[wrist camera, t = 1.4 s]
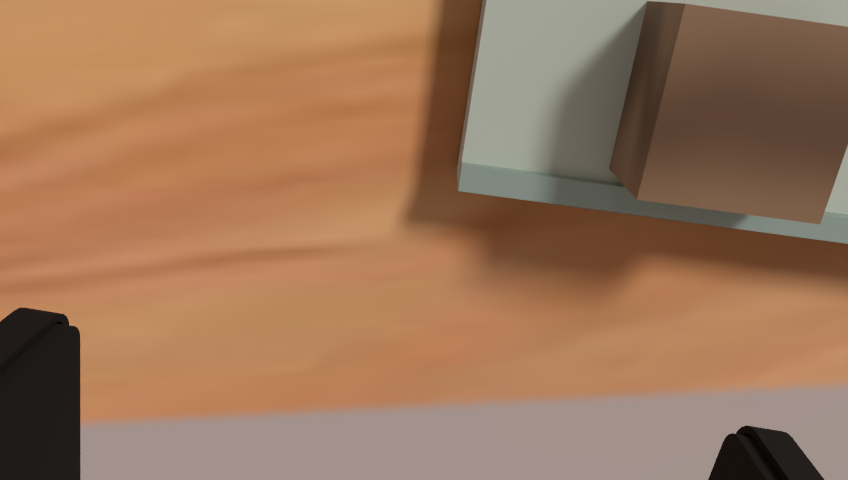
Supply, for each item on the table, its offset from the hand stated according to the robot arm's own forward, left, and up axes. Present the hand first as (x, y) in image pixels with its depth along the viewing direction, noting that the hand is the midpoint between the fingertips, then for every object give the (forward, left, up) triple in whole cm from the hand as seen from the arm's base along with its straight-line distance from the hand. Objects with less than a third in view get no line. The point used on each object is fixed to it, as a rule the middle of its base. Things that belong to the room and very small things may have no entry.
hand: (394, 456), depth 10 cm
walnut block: (-4, +10, -17) cm, 20 cm away
